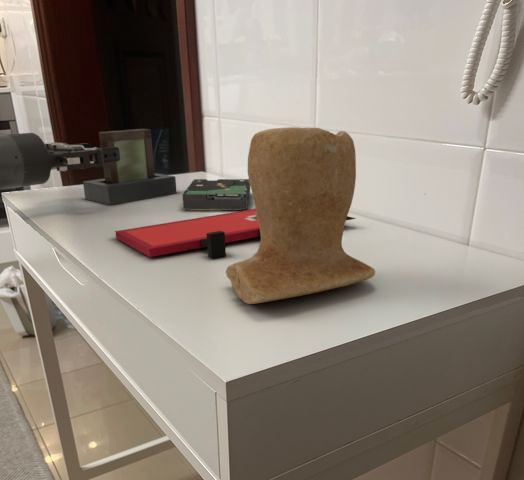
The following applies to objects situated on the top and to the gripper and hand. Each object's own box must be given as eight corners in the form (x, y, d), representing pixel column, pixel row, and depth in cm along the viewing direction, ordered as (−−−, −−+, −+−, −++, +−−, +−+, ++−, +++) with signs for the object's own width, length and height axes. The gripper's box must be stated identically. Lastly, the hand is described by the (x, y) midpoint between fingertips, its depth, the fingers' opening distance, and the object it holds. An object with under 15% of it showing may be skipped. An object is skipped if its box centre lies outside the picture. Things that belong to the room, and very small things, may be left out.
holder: (85, 199, 98) (82, 181, 97) (151, 188, 107) (149, 172, 106) (110, 205, 93) (107, 186, 92) (176, 193, 102) (175, 176, 101)
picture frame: (114, 200, 96) (105, 132, 92) (107, 199, 98) (98, 132, 93) (156, 193, 102) (150, 129, 98) (149, 192, 104) (143, 128, 99)
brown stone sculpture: (319, 260, 64) (324, 119, 57) (390, 290, 55) (406, 126, 48) (198, 283, 57) (189, 125, 51) (257, 321, 48) (254, 135, 41)
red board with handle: (365, 227, 76) (300, 210, 88) (366, 206, 75) (300, 192, 87) (163, 268, 62) (116, 241, 73) (160, 243, 61) (113, 220, 72)
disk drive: (193, 194, 102) (183, 211, 88) (192, 179, 100) (181, 192, 87) (250, 194, 102) (248, 210, 88) (250, 178, 100) (248, 192, 87)
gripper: (27, 137, 77) (126, 130, 88) (-17, 132, 86) (78, 125, 97) (37, 193, 80) (131, 179, 91) (-6, 182, 89) (84, 170, 100)
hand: (104, 151), depth 94 cm, fingers open, 8 cm apart
